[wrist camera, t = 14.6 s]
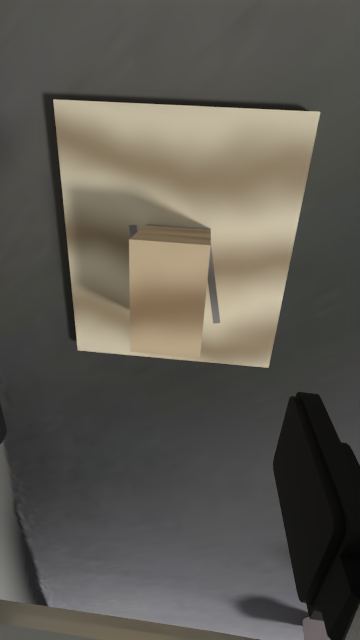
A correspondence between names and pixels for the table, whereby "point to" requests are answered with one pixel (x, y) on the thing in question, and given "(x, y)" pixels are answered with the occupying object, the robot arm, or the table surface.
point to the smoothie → (314, 630)
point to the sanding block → (168, 289)
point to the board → (183, 212)
